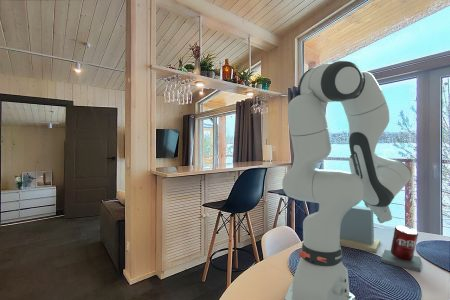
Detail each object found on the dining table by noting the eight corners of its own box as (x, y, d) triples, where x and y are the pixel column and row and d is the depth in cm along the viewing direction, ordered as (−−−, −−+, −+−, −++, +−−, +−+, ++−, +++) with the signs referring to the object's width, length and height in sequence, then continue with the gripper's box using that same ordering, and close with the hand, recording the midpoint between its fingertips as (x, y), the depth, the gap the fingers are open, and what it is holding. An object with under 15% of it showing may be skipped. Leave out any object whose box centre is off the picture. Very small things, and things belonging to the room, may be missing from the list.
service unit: (375, 252, 101) (374, 212, 101) (332, 243, 113) (331, 207, 113) (380, 243, 112) (379, 206, 112) (340, 235, 123) (339, 202, 124)
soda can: (417, 262, 89) (423, 235, 86) (398, 261, 90) (403, 234, 87) (404, 250, 96) (409, 224, 93) (386, 249, 97) (390, 224, 94)
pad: (420, 271, 84) (420, 268, 84) (381, 262, 92) (381, 259, 92) (420, 260, 93) (420, 257, 93) (384, 252, 101) (384, 249, 101)
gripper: (394, 201, 78) (399, 229, 83) (363, 171, 96) (369, 196, 101) (374, 206, 79) (381, 234, 84) (347, 176, 97) (354, 200, 102)
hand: (374, 213), depth 93 cm, fingers open, 8 cm apart
